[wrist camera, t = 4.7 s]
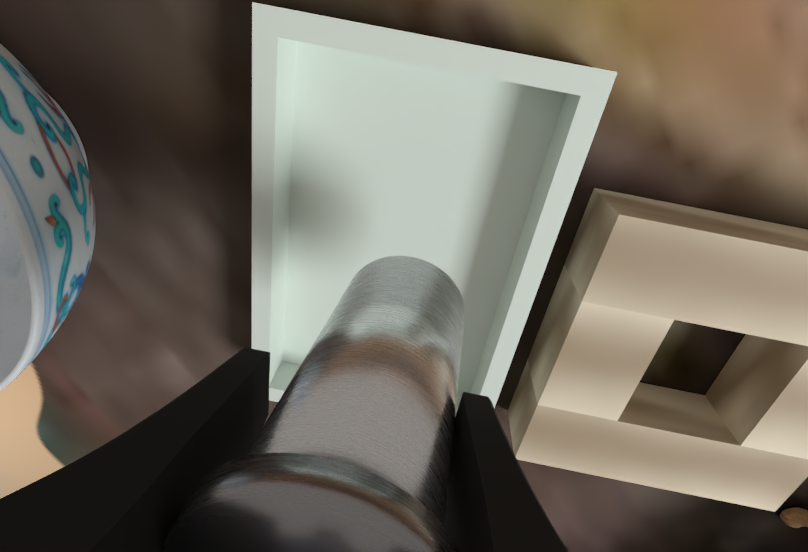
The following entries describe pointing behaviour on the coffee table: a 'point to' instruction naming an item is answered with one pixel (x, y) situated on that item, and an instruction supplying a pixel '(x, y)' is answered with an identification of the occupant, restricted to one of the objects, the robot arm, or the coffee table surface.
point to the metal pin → (350, 432)
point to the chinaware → (38, 217)
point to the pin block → (640, 339)
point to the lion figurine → (795, 517)
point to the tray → (407, 176)
